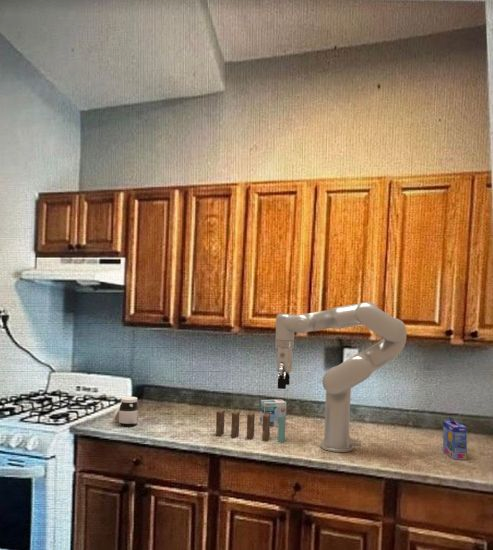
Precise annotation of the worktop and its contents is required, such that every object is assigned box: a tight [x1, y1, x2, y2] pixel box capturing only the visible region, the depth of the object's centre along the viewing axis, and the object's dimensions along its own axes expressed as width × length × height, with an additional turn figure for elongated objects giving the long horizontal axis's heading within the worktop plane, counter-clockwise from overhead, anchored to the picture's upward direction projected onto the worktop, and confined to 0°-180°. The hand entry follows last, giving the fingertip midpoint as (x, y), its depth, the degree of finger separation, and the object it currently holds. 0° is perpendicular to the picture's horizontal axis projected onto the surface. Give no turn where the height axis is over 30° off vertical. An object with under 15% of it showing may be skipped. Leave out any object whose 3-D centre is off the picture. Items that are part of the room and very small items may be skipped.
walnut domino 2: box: [230, 410, 240, 439], centre depth 213 cm, size 2×5×10 cm, turn 167°
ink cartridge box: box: [442, 416, 468, 461], centre depth 197 cm, size 10×6×14 cm, turn 2°
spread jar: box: [112, 396, 139, 428], centre depth 227 cm, size 12×11×12 cm
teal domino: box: [277, 414, 287, 444], centre depth 209 cm, size 2×5×10 cm, turn 166°
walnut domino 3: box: [246, 411, 256, 441], centre depth 212 cm, size 2×5×10 cm, turn 167°
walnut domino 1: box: [215, 408, 226, 437], centre depth 215 cm, size 2×5×10 cm, turn 167°
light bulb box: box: [259, 399, 287, 428], centre depth 234 cm, size 11×7×11 cm, turn 105°
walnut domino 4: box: [261, 413, 271, 442], centre depth 210 cm, size 2×5×10 cm, turn 167°
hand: (283, 386), depth 209 cm, fingers open, 9 cm apart
